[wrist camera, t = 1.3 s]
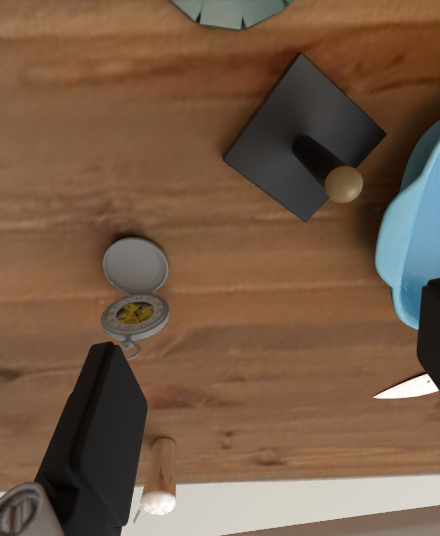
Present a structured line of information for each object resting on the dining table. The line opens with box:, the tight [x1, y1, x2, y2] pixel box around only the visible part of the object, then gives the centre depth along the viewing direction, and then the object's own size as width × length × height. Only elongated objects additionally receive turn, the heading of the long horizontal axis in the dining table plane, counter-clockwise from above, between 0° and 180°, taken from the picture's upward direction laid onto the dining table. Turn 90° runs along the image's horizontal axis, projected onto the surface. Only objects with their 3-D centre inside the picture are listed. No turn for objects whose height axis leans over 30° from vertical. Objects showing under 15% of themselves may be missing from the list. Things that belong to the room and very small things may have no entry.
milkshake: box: [133, 438, 176, 523], centre depth 49 cm, size 4×5×10 cm
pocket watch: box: [101, 237, 170, 360], centre depth 33 cm, size 8×8×10 cm
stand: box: [222, 53, 387, 222], centre depth 26 cm, size 10×10×13 cm
